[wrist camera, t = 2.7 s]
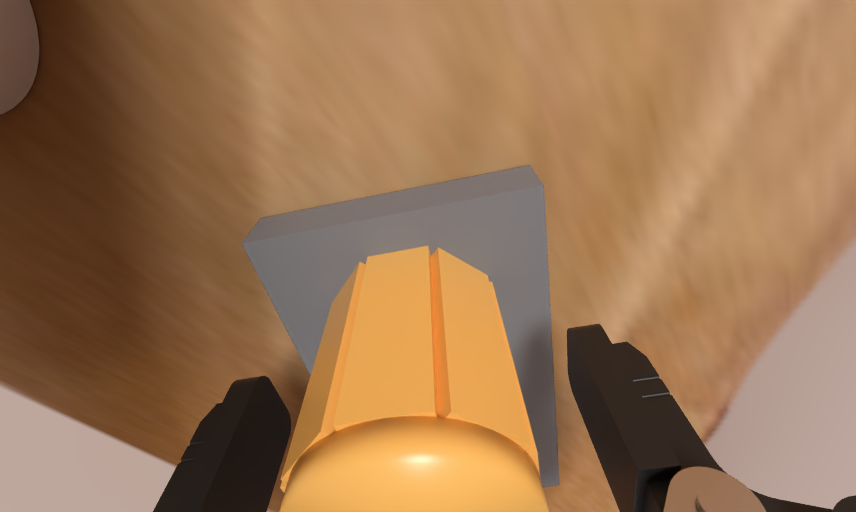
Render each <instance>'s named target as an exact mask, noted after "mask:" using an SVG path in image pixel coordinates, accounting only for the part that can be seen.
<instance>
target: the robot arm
mask: <svg viewBox="0 0 856 512" xmlns="http://www.w3.org/2000/svg"><path fill="white" fill-rule="evenodd" d="M567 356H568V375H569V381H570V385H571V389H572V392H573V395H574V397H575V400H576V403H577V405H578V408H579V410H580V413H581V415H582V418H583V420H584V423H585V425H586V428H587V430H588V433H589V435H590V438H591V440H592V443H593V445H594V448H595V450H596V453H597V455H598V458H599V460H600V463H601V465H602V468H603V470H604V473H605V475H606V478H607V480H608V483H609V485H610V488H611V490H612V493H613V495H614V498H615V500H616V503H617V505H618V508H619V510H620V512H856V496H851V497H847V498H844V499H842V500H841V501H839V502H838V503H837V504H836V506H835V507H834V509H833V510H831V509H826V508H821V507H816V506H810V505H805V504H800V503H795V502H790V501H784V500H779V499H775V498H771V497H767V496H765V495H762V494H759V493H757V492H755V491H753V490H751V489H749V488H747V487H746V486H745V485H744V484H742V483H741V482H740V481H738V480H737V479H735V478H734V477H732V476H730V475H728V474H727V473H726V472H725V471H723V470H722V468H721V467H719V465H718V464H717V463H716V462H715V460H714V459H713V458H712V456H711V455H710V453H709V452H708V450H707V448H706V447H705V445H704V444H703V442H702V441H701V439H700V438H699V436H698V435H697V433H696V432H695V430H694V428H693V427H692V425H691V424H690V422H689V421H688V419H687V418H686V416H685V415H684V413H683V412H682V410H681V409H680V407H679V406H678V404H677V402H676V401H675V399H674V398H673V396H672V395H670V394H669V390H668V389H667V387H666V386H665V384H664V383H663V381H662V380H661V379H660V378H659V375H658V373H657V372H656V370H655V369H654V367H653V366H652V364H651V363H650V361H649V360H648V358H647V357H646V356H645V355H644V354H643V353H641V352H640V351H639V350H637V349H636V348H635V347H633V346H632V345H631V344H629V343H628V342H622V343H616V344H612V343H611V341H610V340H609V338H608V336H607V334H606V333H605V331H604V329H603V328H602V326H601V325H600V324H594V325H588V326H581V327H575V328H569V329H568V330H567ZM290 431H291V419H290V414H289V412H288V410H287V408H286V406H285V404H284V403H283V401H282V399H281V398H280V396H279V394H278V393H277V391H276V389H275V388H274V386H273V384H272V382H271V381H270V379H269V378H268V377H266V376H260V377H254V378H247V379H241V380H236V381H235V382H233V384H232V385H231V387H230V388H229V390H228V392H227V394H226V396H225V398H224V400H223V402H222V403H219V404H216V406H215V407H214V408H213V409H212V410H211V411H210V412H209V413H208V414H207V416H206V417H205V418H204V419H203V420H202V421H201V422H200V424H199V426H198V428H197V430H196V432H195V434H194V435H193V437H192V439H191V441H190V446H188V447H187V449H186V450H185V452H184V454H183V456H182V458H181V463H179V464H178V465H177V467H176V469H175V471H174V473H173V475H172V477H171V479H170V480H169V482H168V484H167V486H166V488H165V490H164V492H163V494H162V496H161V497H160V499H159V501H158V503H157V505H156V507H155V509H154V511H153V512H266V511H267V508H268V505H269V501H270V498H271V495H272V492H273V488H274V485H275V482H276V479H277V475H278V472H279V469H280V465H281V462H282V459H283V456H284V452H285V449H286V446H287V443H288V439H289V436H290Z"/></svg>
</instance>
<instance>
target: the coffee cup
mask: <svg viewBox="0 0 856 512" xmlns="http://www.w3.org/2000/svg"><path fill="white" fill-rule="evenodd" d="M38 61H39V39H38V31H37V25H36V20H35V16H34V13H33V9H32V6H31V3H30V0H0V115H1V114H3V113H5V112H7V111H9V110H11V109H12V108H14V107H15V106H16V105H17V104H19V103H20V102H21V101H22V99H23V98H24V97H25V96H26V95H27V93H28V92H29V90H30V88H31V86H32V84H33V82H34V80H35V76H36V73H37V68H38Z"/></svg>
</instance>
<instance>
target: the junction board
mask: <svg viewBox="0 0 856 512" xmlns="http://www.w3.org/2000/svg"><path fill="white" fill-rule="evenodd" d="M242 246H243V247H244V249H245V251H246V253H247V255H248V257H249V259H250V261H251V263H252V265H253V267H254V269H255V271H256V272H257V274H258V276H259V278H260V280H261V282H262V284H263V286H264V288H265V290H266V292H267V294H268V295H269V297H270V299H271V301H272V303H273V305H274V307H275V309H276V311H277V313H278V315H279V317H280V318H281V320H282V322H283V324H284V326H285V328H286V330H287V332H288V334H289V336H290V338H291V340H292V342H293V343H294V345H295V347H296V349H297V351H298V353H299V355H300V357H301V359H302V361H303V363H304V365H305V366H306V368H307V370H308V372H309V374H310V376H311V373H312V369H313V366H314V363H315V359H316V356H317V352H318V349H319V345H320V342H321V339H322V335H323V332H324V328H325V325H326V321H327V318H328V315H329V311H330V308H331V304H332V302H333V300H334V299H335V297H336V296H337V294H338V293H339V291H340V290H341V288H342V287H343V286H344V284H345V283H346V281H347V280H348V278H349V277H350V275H351V274H352V272H353V271H354V269H355V268H356V266H357V265H358V263H359V262H362V263H364V264H366V261H367V257H369V256H375V255H380V254H386V253H391V252H396V251H402V250H407V249H413V248H418V247H423V246H429V250H430V255H432V254H433V253H434V252H435V250H436V249H437V248H438V247H439V248H440V249H442V250H444V251H446V252H447V253H449V254H451V255H453V256H455V257H456V258H458V259H460V260H462V261H463V262H465V263H467V264H469V265H470V266H472V267H474V268H476V269H478V270H479V271H481V272H483V273H485V274H486V275H488V279H489V282H492V283H493V287H494V290H495V294H496V298H497V302H498V305H499V309H500V313H501V317H502V321H503V324H504V328H505V332H506V336H507V339H508V343H509V347H510V351H511V354H512V358H513V362H514V366H515V369H516V373H517V377H518V381H519V385H520V388H521V392H522V396H523V400H524V403H525V407H526V411H527V415H528V418H529V422H530V426H531V430H532V434H533V437H534V441H535V445H536V449H537V452H538V461H539V472H540V479H541V483H542V487H549V486H557V485H559V467H558V448H557V428H556V409H555V390H554V370H553V351H552V332H551V313H550V293H549V274H548V255H547V235H546V216H545V197H544V185H543V183H542V182H541V180H540V179H539V178H538V176H537V175H536V173H535V172H534V170H533V169H532V167H531V166H530V165H527V166H522V167H517V168H512V169H507V170H502V171H497V172H492V173H487V174H482V175H477V176H472V177H467V178H462V179H456V180H451V181H446V182H441V183H436V184H431V185H426V186H421V187H416V188H411V189H406V190H401V191H396V192H391V193H386V194H381V195H376V196H371V197H366V198H361V199H355V200H350V201H345V202H340V203H335V204H330V205H325V206H320V207H315V208H310V209H305V210H300V211H295V212H290V213H285V214H280V215H275V216H270V217H265V218H260V220H259V221H258V222H257V224H256V225H255V226H254V228H253V229H252V230H251V232H250V233H249V234H248V236H247V237H246V238H245V240H244V241H243V242H242Z"/></svg>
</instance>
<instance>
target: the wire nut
mask: <svg viewBox="0 0 856 512" xmlns="http://www.w3.org/2000/svg"><path fill="white" fill-rule="evenodd" d="M280 480H282V483H281V487H280V488H281V489H282V491H283V492H284V497H283V500H282V504H281V508H280V511H279V512H549V510H548V506H547V502H546V498H545V495H544V491H543V487H542V483H541V479H540V472H539V461H538V452H537V449H536V445H535V441H534V437H533V434H532V430H531V426H530V422H529V418H528V415H527V411H526V407H525V403H524V400H523V396H522V392H521V388H520V385H519V381H518V377H517V373H516V369H515V366H514V362H513V358H512V354H511V351H510V347H509V343H508V339H507V336H506V332H505V328H504V324H503V321H502V317H501V313H500V309H499V305H498V302H497V298H496V294H495V290H494V287H493V283H492V282H489V279H488V275H486V274H485V273H483V272H481V271H479V270H478V269H476V268H474V267H472V266H470V265H469V264H467V263H465V262H463V261H462V260H460V259H458V258H456V257H455V256H453V255H451V254H449V253H447V252H446V251H444V250H442V249H440V248H439V247H438V248H437V249H436V250H435V252H434V253H433V254H432V255H430V250H429V246H423V247H418V248H413V249H407V250H402V251H396V252H391V253H386V254H380V255H375V256H369V257H367V261H366V264H364V263H362V262H359V263H358V265H357V266H356V268H355V269H354V271H353V272H352V274H351V275H350V277H349V278H348V280H347V281H346V283H345V284H344V286H343V287H342V288H341V290H340V291H339V293H338V294H337V296H336V297H335V299H334V300H333V302H332V304H331V308H330V311H329V315H328V318H327V321H326V325H325V328H324V332H323V335H322V339H321V342H320V345H319V349H318V352H317V356H316V359H315V363H314V366H313V369H312V373H311V376H310V380H309V383H308V386H307V390H306V393H305V397H304V400H303V404H302V407H301V410H300V414H299V417H298V421H297V424H296V428H295V431H294V434H293V438H292V441H291V445H290V448H289V452H288V455H287V458H286V462H285V465H284V469H283V472H282V476H281V479H280Z"/></svg>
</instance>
